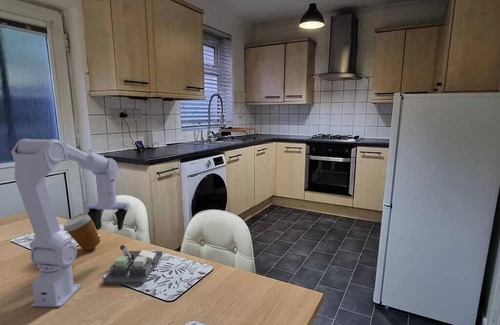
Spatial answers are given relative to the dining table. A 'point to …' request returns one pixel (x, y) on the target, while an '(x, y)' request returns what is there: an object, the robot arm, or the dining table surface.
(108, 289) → the dining table surface
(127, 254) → the toggle lever
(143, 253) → the rocker
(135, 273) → the panel
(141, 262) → the button
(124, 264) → the button
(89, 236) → the disposable coffee cup
